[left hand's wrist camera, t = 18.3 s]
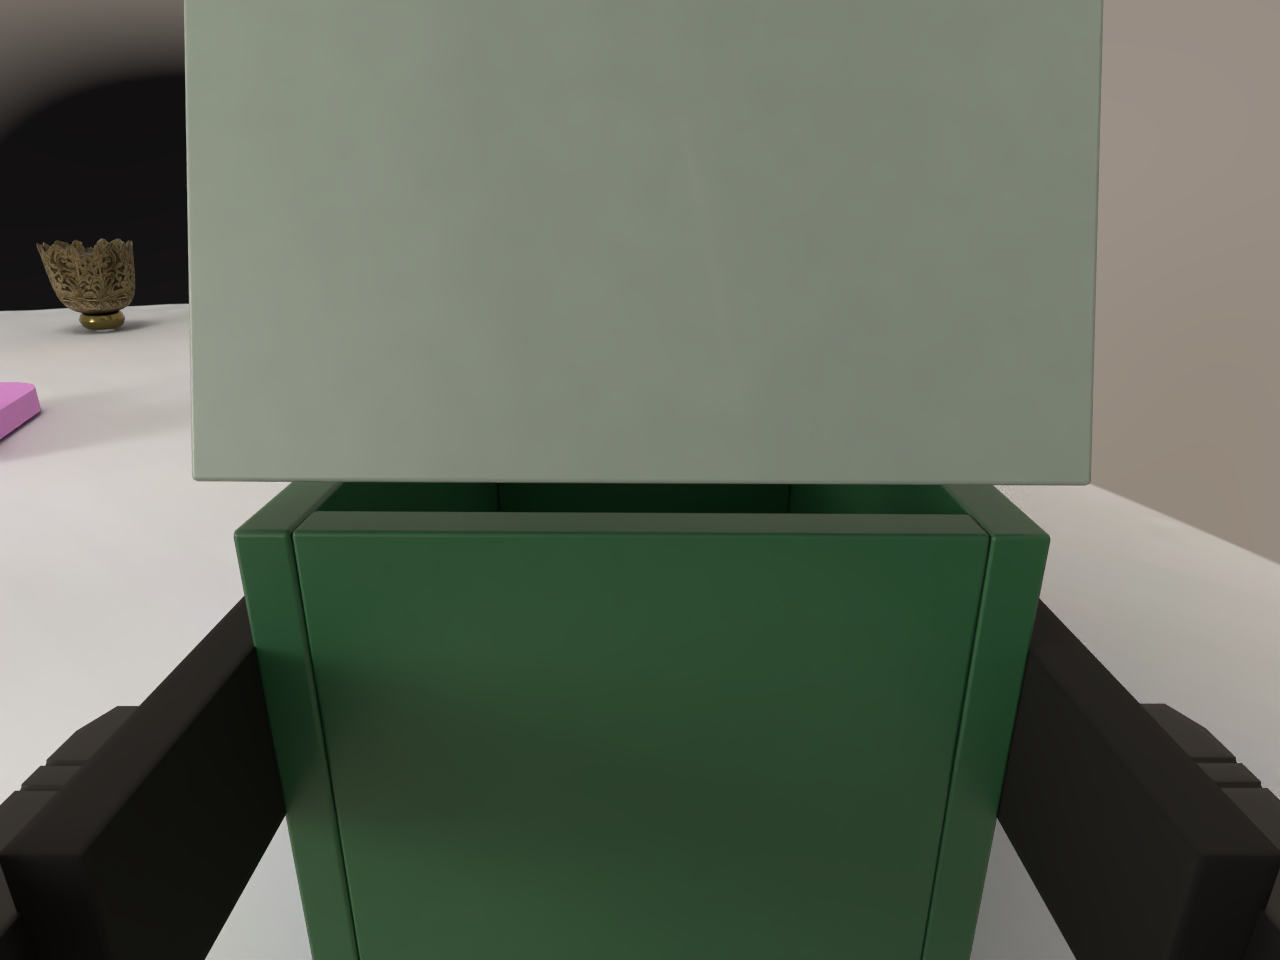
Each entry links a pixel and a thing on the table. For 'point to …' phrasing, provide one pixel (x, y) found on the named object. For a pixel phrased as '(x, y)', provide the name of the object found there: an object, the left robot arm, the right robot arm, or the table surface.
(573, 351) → the lid
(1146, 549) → the table surface
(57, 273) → the cup
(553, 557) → the chest
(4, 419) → the bracket
